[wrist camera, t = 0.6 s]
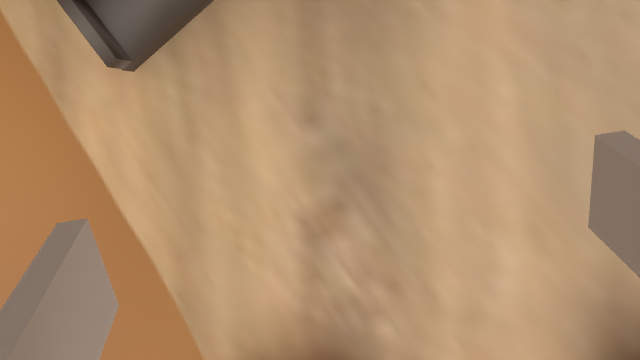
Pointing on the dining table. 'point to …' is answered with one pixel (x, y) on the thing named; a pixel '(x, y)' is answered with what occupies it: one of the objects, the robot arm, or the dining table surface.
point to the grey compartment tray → (130, 26)
